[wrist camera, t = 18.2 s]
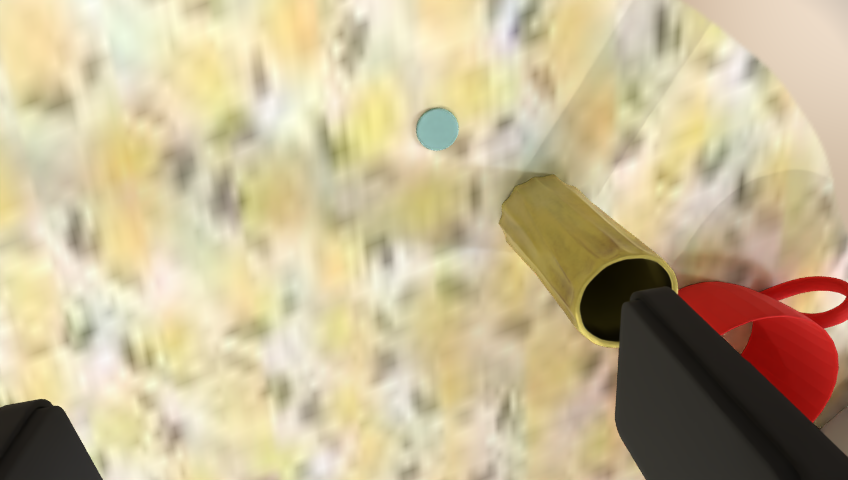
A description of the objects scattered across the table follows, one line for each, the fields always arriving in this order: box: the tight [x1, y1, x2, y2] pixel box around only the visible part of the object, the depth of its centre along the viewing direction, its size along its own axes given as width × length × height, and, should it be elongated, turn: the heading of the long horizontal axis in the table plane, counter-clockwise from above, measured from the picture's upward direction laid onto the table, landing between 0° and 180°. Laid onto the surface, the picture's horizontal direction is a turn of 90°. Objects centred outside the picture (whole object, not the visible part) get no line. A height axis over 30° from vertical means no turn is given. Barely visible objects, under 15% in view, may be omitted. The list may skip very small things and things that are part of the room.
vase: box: [499, 175, 678, 348], centre depth 33 cm, size 6×6×14 cm
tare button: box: [416, 108, 458, 150], centre depth 34 cm, size 3×3×1 cm
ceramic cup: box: [678, 276, 848, 423], centre depth 42 cm, size 13×17×10 cm
